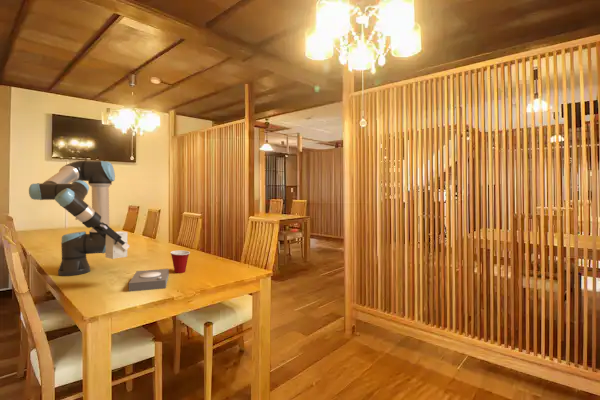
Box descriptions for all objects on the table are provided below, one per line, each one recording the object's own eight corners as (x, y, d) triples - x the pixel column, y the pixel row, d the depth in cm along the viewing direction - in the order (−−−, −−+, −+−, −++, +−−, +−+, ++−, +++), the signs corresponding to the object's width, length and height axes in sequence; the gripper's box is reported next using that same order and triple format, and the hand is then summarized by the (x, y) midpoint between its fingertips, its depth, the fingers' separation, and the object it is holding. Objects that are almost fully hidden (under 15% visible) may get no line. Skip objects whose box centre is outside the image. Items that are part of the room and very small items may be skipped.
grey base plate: (136, 278, 175) (136, 269, 174) (168, 275, 180) (168, 267, 180) (128, 291, 152) (128, 280, 152) (165, 288, 157) (165, 278, 157)
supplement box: (112, 259, 156) (112, 233, 156) (105, 257, 160) (105, 232, 160) (127, 257, 162) (128, 231, 162) (120, 255, 166) (120, 230, 166)
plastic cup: (183, 275, 182) (183, 253, 182) (166, 273, 184) (166, 253, 184) (193, 270, 192) (193, 250, 192) (177, 269, 195) (177, 249, 194)
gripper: (73, 221, 155) (109, 250, 168) (91, 224, 143) (128, 255, 156) (86, 210, 159) (120, 239, 172) (104, 211, 147) (139, 243, 160)
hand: (123, 247), depth 164 cm, fingers closed on supplement box, 7 cm apart
